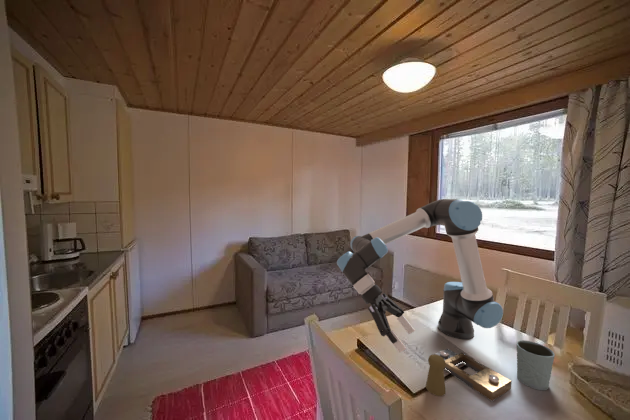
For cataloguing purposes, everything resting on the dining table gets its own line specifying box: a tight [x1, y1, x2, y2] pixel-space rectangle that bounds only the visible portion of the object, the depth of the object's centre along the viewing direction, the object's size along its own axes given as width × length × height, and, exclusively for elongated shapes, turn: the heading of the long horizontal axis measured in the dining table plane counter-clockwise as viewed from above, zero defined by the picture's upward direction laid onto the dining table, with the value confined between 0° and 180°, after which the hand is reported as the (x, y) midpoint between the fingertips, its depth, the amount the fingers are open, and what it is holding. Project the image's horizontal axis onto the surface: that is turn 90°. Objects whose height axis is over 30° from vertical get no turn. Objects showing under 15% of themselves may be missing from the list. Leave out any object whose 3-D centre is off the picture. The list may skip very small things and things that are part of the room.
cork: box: [425, 353, 447, 397], centre depth 87 cm, size 6×6×11 cm
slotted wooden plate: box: [434, 348, 512, 402], centre depth 95 cm, size 23×11×4 cm, turn 28°
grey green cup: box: [515, 340, 556, 391], centre depth 91 cm, size 10×10×12 cm
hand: (407, 340), depth 91 cm, fingers open, 13 cm apart
